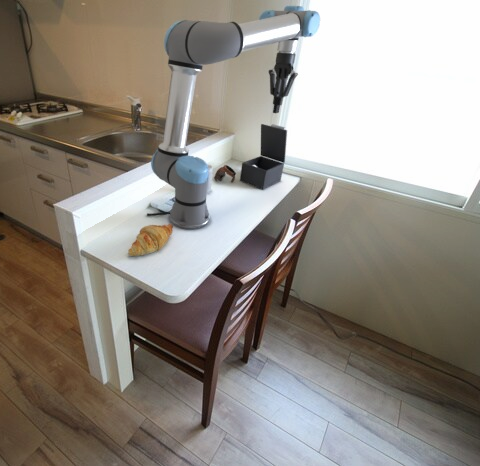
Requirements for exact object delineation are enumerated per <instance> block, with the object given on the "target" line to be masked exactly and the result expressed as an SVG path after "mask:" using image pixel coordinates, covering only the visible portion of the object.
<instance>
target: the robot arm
mask: <svg viewBox="0 0 480 466" xmlns="http://www.w3.org/2000/svg"><path fill="white" fill-rule="evenodd" d="M320 23H321V16H320V14H319V11H316V10H311V9H308V10H305V9H304V7H303V6H302V5H301V6H300V5H285V6H284V8H283V10H274V9H266V10H264V11H263V12H261V14H260V16H259V18H258V19H257V20H252V21H248V22H243V23H238V22H237V21H229V22H228V21H227V22H218V21H208V20H207V21H206V20H189V19H184V20H178V21H175V22H174V23H172V24H171V26H169V28H168V29H167V30H166V33H165V36H164V42H163V46H164V50H165V52H166V55H167V56H168V61H167V66H168V67H169V69H170V70H171V71H170V72H171V74H170V81H169V82H170V83H169V92H168V99H167V100H168V101H167V107H166V115H165V125H164V131H163V138H162V142H160V144H158V146H157V149H156V150H155V153H153V154H152V155H151V159H150V167H151V170H152V172H153V174H154V175H155V176H156V177H157V178H158V179H159V180H161V181H163V182H165V183H166V184H168V185H169V186H170V187H172V188H174V202H173V205H172V207H171V210H170V211H166V212H165V211H164V212H154V213H146V216H147V217H153V216H164V215H165V216H166V215H169V221H170V224H171V225H173V226H176V227H177V228H179V229H183V230H197V229H202V228H204V227H206V226H208V224H209V223H210V217H211V214H210V211H209V209H208V208H209V207H208V204H207V194H208V193H207V186H208V176H209V173H208V165H209V164H208V163H207V162H206V161H205V160H204V159H202V158H201V157H198V156H194V155H189V152H190V150H189V148H188V147H187V140H188V132H189V125H190V120H191V113H192V106H193V100H194V95H195V87H196V83H197V82H196V81H197V76H198V75H199V74H200V73H202V71H203V66H207V65H212V64H218V63H220V62H223V61H227V60H230V59H234V58H237V57H239V56H240V55H241V54H242V53H243V52H247V51H251V50H254V49H258V48H261V47H266V46H269V45H273V44H276V43H278V45H277V48H276V49H277V50H276V51H277V53H276V57H275V65H274V66H273V68H271V69H269V70H268V71H267V72H268V75H269V93H270V95H271V96H273V99H272V105H273V108H272V113H273V114H279V113H280V110H281V109H280V107H281V106H282V105H283V101H284V98H285V97H288V96H289V94H290V91H291V89H292V86H293V84H294V81H295V80H296V78H297V77H298V75H299V74H298V73H299V72H296V71H295V70H294V65H295V60H296V52H297V49H298V44H299V40H300V37H303V38H310V37H313V36H314V35H316V33H317V32H318V30H319V28H320ZM207 164H208V165H207Z"/></svg>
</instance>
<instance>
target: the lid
mask: <svg viewBox="0 0 480 466" xmlns="http://www.w3.org/2000/svg"><path fill="white" fill-rule="evenodd" d="M287 139H288V130H287V127H286V126H282V125H277V124H273V123H272V124H271V125H268V124H264V123H261V124H260V156H262V157H266V158H269V159H272V160H275V161H278V162H281V163H284V164H285V163H286V155H287V154H286V153H287Z"/></svg>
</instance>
